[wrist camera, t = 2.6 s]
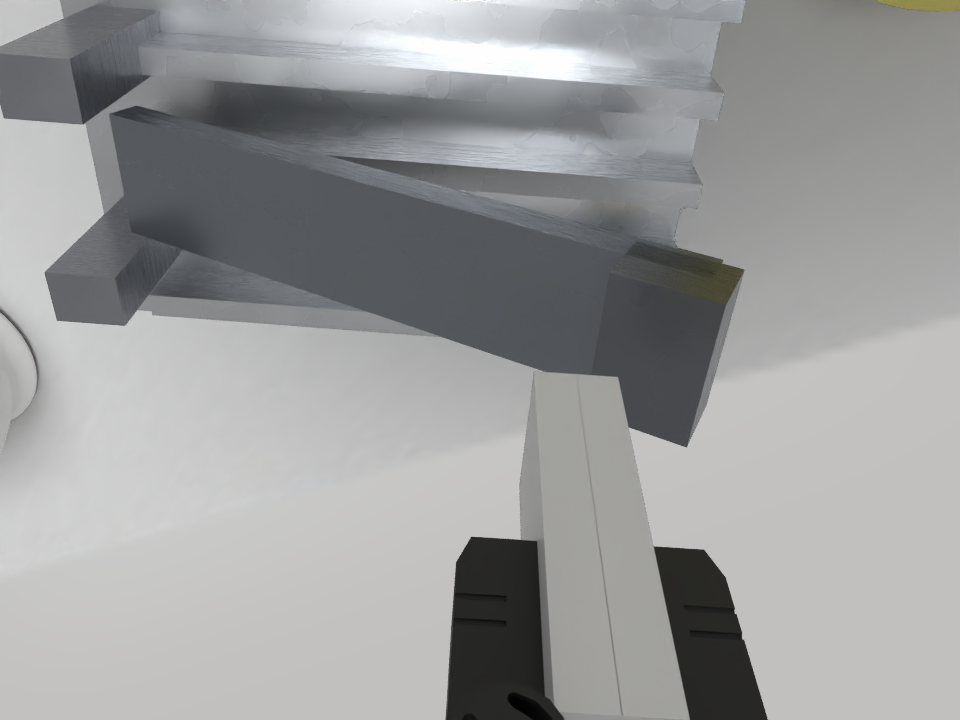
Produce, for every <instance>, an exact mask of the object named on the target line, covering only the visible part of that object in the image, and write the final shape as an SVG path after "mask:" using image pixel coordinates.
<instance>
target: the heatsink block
mask: <svg viewBox="0 0 960 720" xmlns="http://www.w3.org/2000/svg"><path fill="white" fill-rule="evenodd" d="M60 2H61V6H62V11H63V16H64V19H61V20H59V21H57V22H55V23H52V24H50V25H48V26H46V27H43V28H41V29H39V30H37V31H34V32H32V33H30V34H28V35H25V36H23V37H21V38H19V39H16V40H14V41H12V42H10V43H7V44H5V45H3V46H1V47H0V105H1V109H2V113H3V116H4V118H7V119H20V120H32V121H45V122H58V123H71V124H84V123H86V127H87V132H88V137H89V142H90V147H91V152H92V156H93V161H94V166H95V171H96V176H97V181H98V185H99V190H100V195H101V200H102V205H103V210H104V215H103V216H102V217H101V218H100V219H99V220H98V221H97V222H96V223H95V224H94V225H93V226H92V227H91V228H90V229H89V230H88V231H87V232H86V233H85V234H84V235H83V236H82V237H81V238H80V239H79V240H78V241H76V242H75V243H74V244H73V245H72V246H71V247H70V248H69V249H68V250H67V251H66V252H65V253H64V254H63V255H62V256H61V257H60V258H59V259H58V260H57V261H56V262H55V263H54V264H53V265H52V266H51V267H50V268H49V269H48V270H47V271H45V276H46V280H47V284H48V288H49V291H50V295H51V299H52V303H53V307H54V311H55V314H56V318H57V321H69V322H82V323H95V324H108V325H122V326H125V325H126V324H127V323H128V321H129V320H130V319H131V317H132V316H133V315H134V313H135V312H136V311H137V310H144V311H152V314H153V315H159V316H172V317H185V318H198V319H211V320H224V321H237V322H251V323H264V324H277V325H290V326H303V327H316V328H329V329H343V330H356V331H369V332H382V333H395V334H408V335H422V336H435V337H441V336H438V335H435V334H432V333H429V332H426V331H423V330H420V329H417V328H414V327H411V326H408V325H405V324H402V323H399V322H396V321H393V320H390V319H387V318H384V317H381V316H378V315H375V314H372V313H369V312H366V311H363V310H360V309H357V308H355V307H352V306H349V305H346V304H343V303H340V302H337V301H334V300H331V299H328V298H325V297H322V296H319V295H316V294H313V293H310V292H307V291H304V290H301V289H298V288H295V287H292V286H289V285H286V284H283V283H280V282H277V281H274V280H271V279H268V278H265V277H262V276H259V275H257V274H254V273H251V272H248V271H245V270H242V269H239V268H236V267H233V266H230V265H227V264H224V263H221V262H218V261H215V260H212V259H209V258H206V257H203V256H200V255H197V254H194V253H191V252H188V251H185V250H182V249H179V248H176V247H173V246H170V245H167V244H164V243H161V242H159V241H156V240H153V239H150V238H147V237H144V236H141V235H138V234H135V233H132V232H131V228H130V223H129V218H128V212H127V207H126V202H125V197H124V191H123V186H122V181H121V175H120V170H119V165H118V160H117V154H116V149H115V144H114V138H113V133H112V128H111V123H110V117H109V114H110V113H113V112H117V111H120V110H123V109H127V108H130V107H133V106H141V107H144V108H148V109H152V110H156V111H160V112H163V113H167V114H171V115H175V116H179V117H182V118H186V119H190V120H194V121H198V122H201V123H205V124H209V125H213V126H217V127H220V128H224V129H228V130H232V131H236V132H239V133H243V134H247V135H251V136H255V137H258V138H262V139H266V140H270V141H273V142H277V143H281V144H285V145H289V146H292V147H296V148H300V149H304V150H308V151H311V152H315V153H319V154H323V155H327V156H330V157H334V158H338V159H342V160H346V161H349V162H353V163H357V164H361V165H365V166H368V167H372V168H376V169H380V170H384V171H387V172H391V173H395V174H399V175H403V176H406V177H410V178H414V179H418V180H422V181H425V182H429V183H433V184H437V185H441V186H444V187H448V188H452V189H456V190H460V191H463V192H467V193H471V194H475V195H479V196H482V197H486V198H490V199H494V200H498V201H501V202H505V203H509V204H513V205H517V206H520V207H524V208H528V209H532V210H535V211H539V212H543V213H547V214H551V215H554V216H558V217H562V218H566V219H570V220H573V221H577V222H581V223H585V224H589V225H592V226H596V227H600V228H604V229H608V230H611V231H615V232H619V233H623V234H627V235H630V236H634V237H638V238H642V239H646V240H649V241H653V242H657V243H661V244H665V245H668V246H672V247H676V248H677V246H676V244H675V241H674V236H675V231H676V227H677V222H678V218H679V213H680V209H681V207H682V208H695V209H697V207H698V203H699V199H700V195H701V190H702V186H703V184H702V182H701V180H700V178H699V176H698V174H697V172H696V171H695V169H694V167H693V165H692V163H691V159H692V155H693V150H694V146H695V141H696V137H697V132H698V128H699V123H700V119H706V120H718V118H719V114H720V109H721V105H722V101H723V97H724V92H723V91H722V89H721V88H720V87H719V85H718V84H717V83H716V82H715V80H714V79H713V78H712V76H711V75H710V74H711V69H712V65H713V61H714V56H715V52H716V47H717V43H718V38H719V34H720V29H721V25H722V22H727V23H740V24H741V20H742V16H743V11H744V7H745V3H746V0H60Z"/></svg>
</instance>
